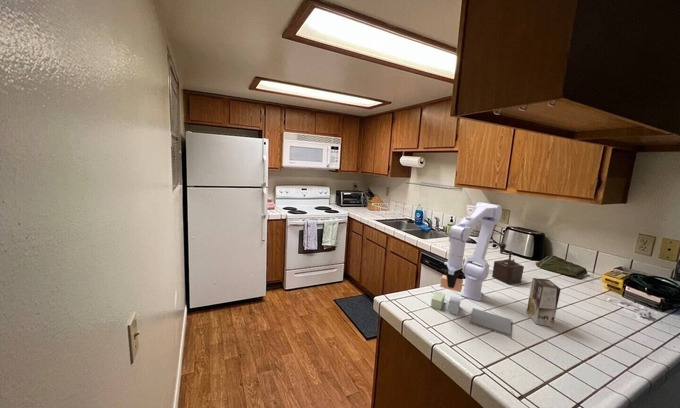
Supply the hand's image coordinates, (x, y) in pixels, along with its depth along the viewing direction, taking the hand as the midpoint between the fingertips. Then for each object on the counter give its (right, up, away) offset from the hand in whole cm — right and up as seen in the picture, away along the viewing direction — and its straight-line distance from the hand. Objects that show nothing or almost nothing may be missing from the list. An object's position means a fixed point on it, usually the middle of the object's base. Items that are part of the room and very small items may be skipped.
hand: (451, 285), depth 118 cm
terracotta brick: (0, -1, 0) cm, 1 cm away
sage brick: (-5, -10, +4) cm, 11 cm away
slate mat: (+12, -12, -7) cm, 19 cm away
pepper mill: (+43, -7, +38) cm, 58 cm away
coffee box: (+35, -13, -3) cm, 37 cm away
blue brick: (+1, -11, +1) cm, 11 cm away
